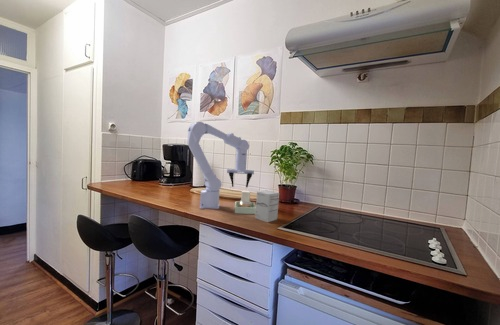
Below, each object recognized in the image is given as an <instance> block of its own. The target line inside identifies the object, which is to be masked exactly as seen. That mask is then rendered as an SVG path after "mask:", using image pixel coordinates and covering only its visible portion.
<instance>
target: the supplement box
mask: <svg viewBox="0 0 500 325" xmlns="http://www.w3.org/2000/svg"><path fill="white" fill-rule="evenodd" d="M279 200H280V193H279V192H275V191H272V190H267V189H265V190H258V191H256V203H255V206H256V214H254V215H255V217H254V219H255V220H256V219H257V220H259V221H262V222H266V223H269V222H273V221H277V220H278V215H279V214H278V213H279V211H278V210H279Z"/></svg>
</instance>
